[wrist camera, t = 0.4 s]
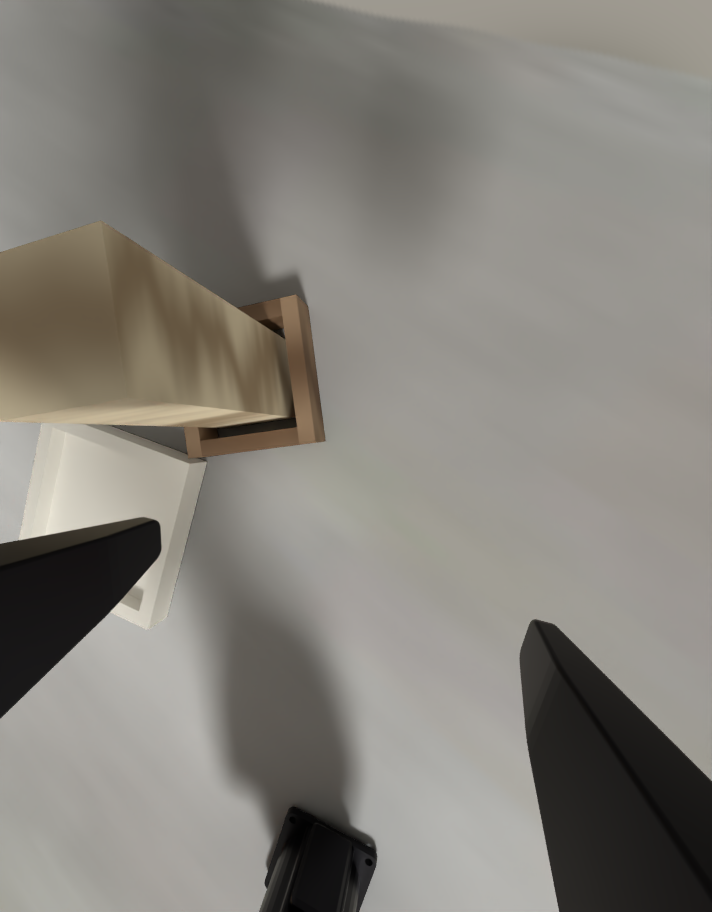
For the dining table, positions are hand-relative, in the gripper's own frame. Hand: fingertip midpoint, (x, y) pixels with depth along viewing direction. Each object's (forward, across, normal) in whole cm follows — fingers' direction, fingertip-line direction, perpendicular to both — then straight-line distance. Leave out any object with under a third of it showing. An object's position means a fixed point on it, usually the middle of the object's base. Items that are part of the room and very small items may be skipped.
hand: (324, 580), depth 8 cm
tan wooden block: (+15, +10, -2) cm, 18 cm away
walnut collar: (+15, +10, -2) cm, 18 cm away
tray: (+12, +20, +9) cm, 25 cm away
